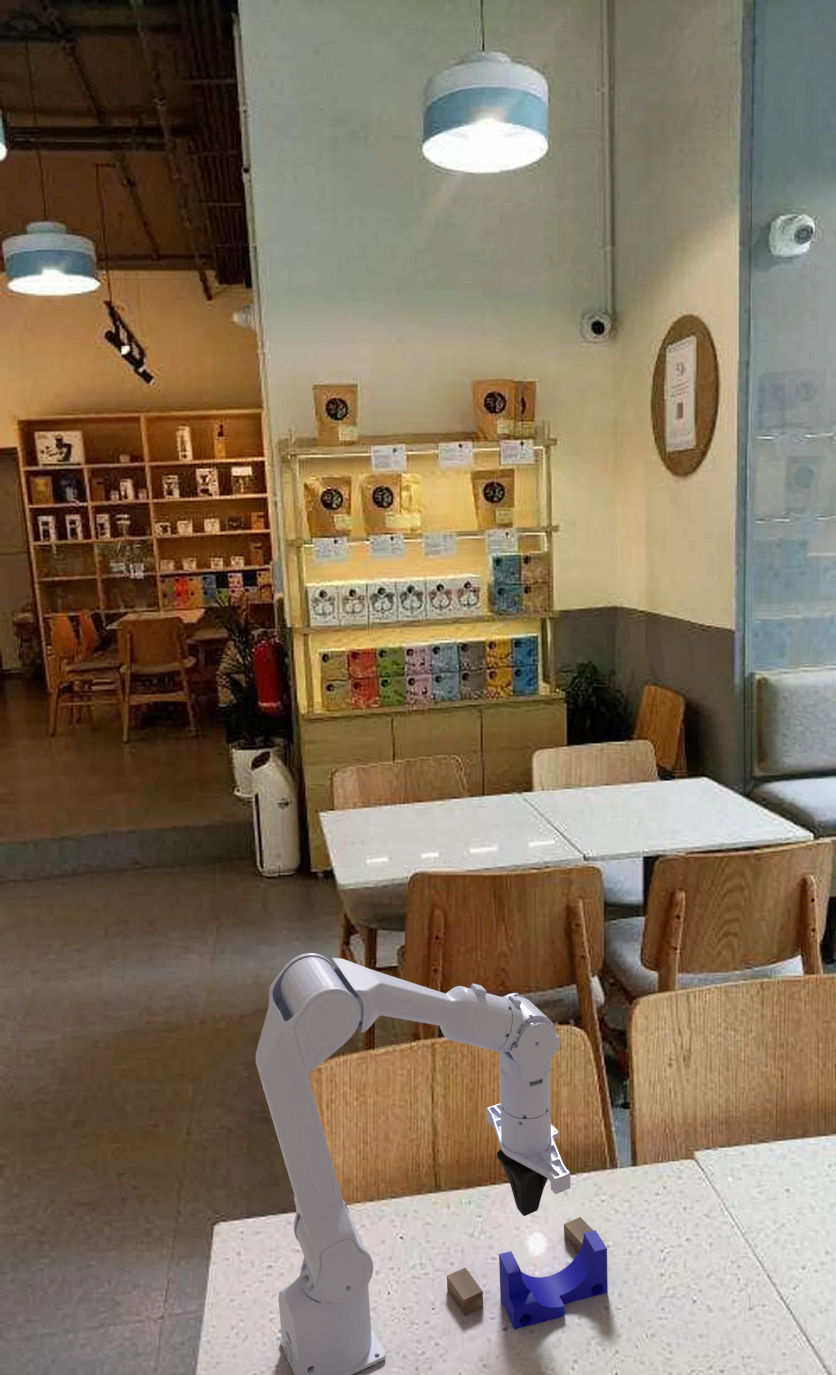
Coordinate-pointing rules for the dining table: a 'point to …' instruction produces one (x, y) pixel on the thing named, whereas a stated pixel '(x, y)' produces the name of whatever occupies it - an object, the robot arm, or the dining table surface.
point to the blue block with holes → (553, 1284)
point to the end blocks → (470, 1292)
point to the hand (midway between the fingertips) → (527, 1209)
